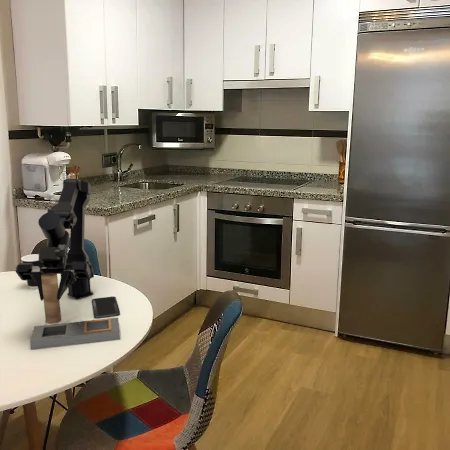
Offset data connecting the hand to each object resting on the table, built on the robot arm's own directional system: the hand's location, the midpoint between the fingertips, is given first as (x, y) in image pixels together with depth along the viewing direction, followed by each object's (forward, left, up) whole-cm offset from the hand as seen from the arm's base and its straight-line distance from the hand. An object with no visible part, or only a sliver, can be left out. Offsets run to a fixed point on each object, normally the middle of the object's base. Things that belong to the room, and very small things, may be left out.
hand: (50, 299), depth 128 cm
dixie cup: (-18, -44, -12) cm, 49 cm away
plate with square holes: (-6, +2, -12) cm, 14 cm away
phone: (-23, -9, -13) cm, 28 cm away
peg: (-1, -1, -7) cm, 7 cm away
